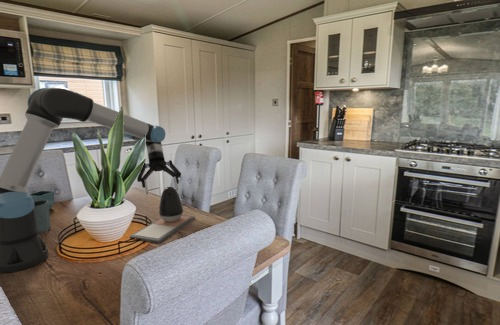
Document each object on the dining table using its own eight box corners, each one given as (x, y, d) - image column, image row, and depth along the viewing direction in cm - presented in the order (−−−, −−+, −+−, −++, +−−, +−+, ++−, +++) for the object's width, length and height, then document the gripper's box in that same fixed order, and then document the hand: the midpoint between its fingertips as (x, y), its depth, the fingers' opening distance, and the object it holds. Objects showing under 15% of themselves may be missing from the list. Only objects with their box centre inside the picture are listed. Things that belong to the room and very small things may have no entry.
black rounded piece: (159, 225, 129) (155, 191, 126) (160, 217, 139) (158, 184, 136) (183, 223, 131) (181, 189, 128) (183, 214, 141) (181, 183, 138)
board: (159, 243, 116) (158, 240, 116) (129, 238, 121) (129, 235, 120) (194, 218, 140) (194, 216, 139) (169, 215, 145) (168, 213, 144)
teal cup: (38, 235, 126) (33, 207, 124) (18, 234, 128) (13, 206, 126) (58, 225, 136) (54, 199, 134) (39, 224, 138) (34, 199, 136)
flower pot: (28, 212, 155) (25, 195, 154) (44, 206, 164) (41, 190, 162) (41, 213, 153) (38, 196, 151) (57, 207, 161) (54, 191, 159)
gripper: (180, 157, 161) (187, 191, 151) (129, 161, 152) (133, 198, 141) (181, 148, 156) (189, 183, 145) (128, 152, 146) (133, 190, 135)
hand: (162, 191), depth 143 cm, fingers open, 13 cm apart
